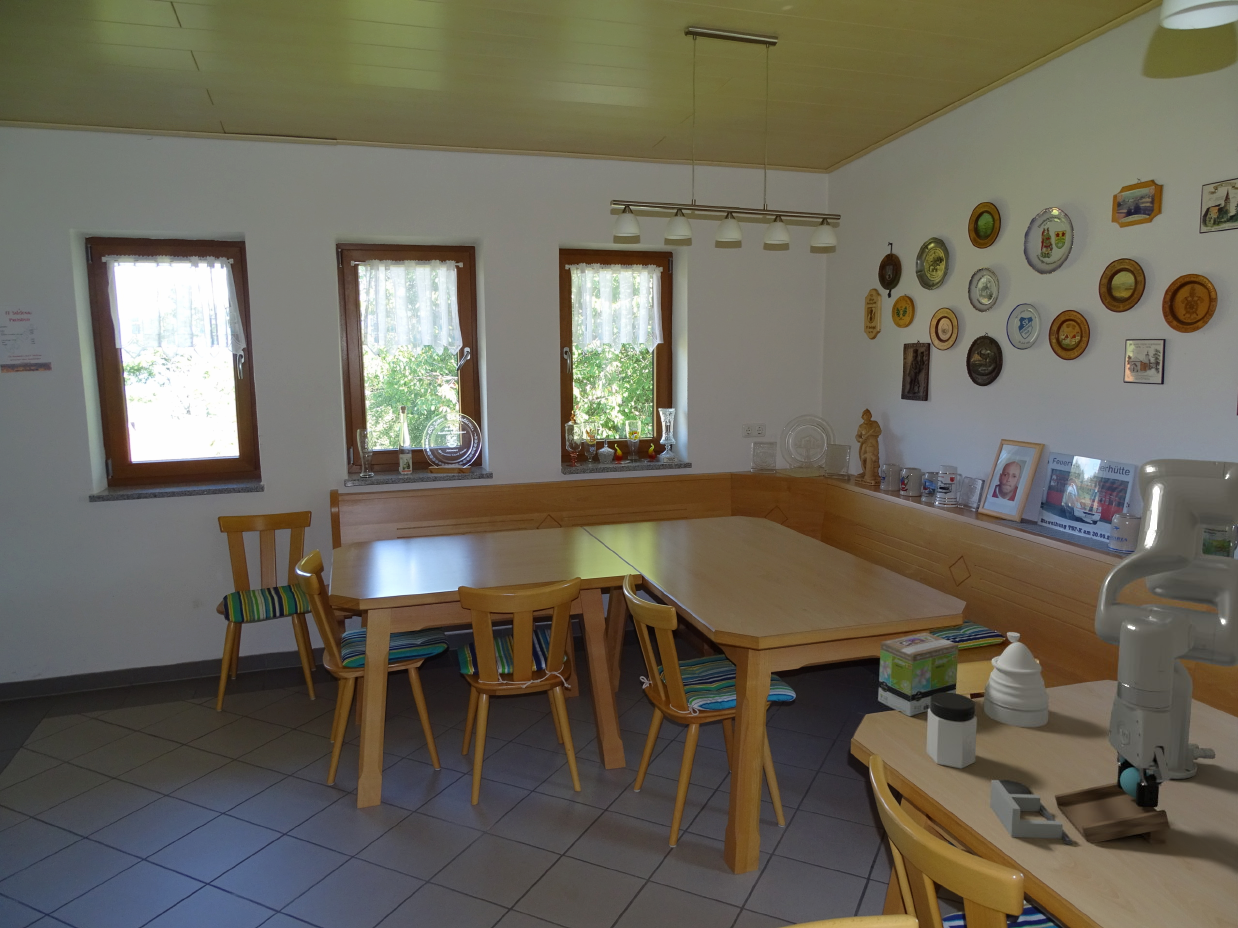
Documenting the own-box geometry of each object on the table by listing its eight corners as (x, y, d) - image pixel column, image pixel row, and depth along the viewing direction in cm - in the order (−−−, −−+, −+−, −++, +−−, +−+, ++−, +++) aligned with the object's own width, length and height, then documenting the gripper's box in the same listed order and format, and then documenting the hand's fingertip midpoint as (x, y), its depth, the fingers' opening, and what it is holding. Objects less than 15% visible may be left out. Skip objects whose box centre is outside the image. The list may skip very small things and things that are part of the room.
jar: (955, 772, 148) (958, 713, 147) (918, 755, 155) (920, 698, 153) (982, 759, 153) (985, 701, 152) (945, 743, 160) (947, 688, 158)
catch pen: (1037, 807, 136) (1038, 781, 135) (1061, 838, 127) (1063, 809, 126) (990, 806, 137) (991, 779, 136) (1011, 836, 128) (1012, 808, 127)
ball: (1113, 788, 132) (1115, 761, 132) (1143, 789, 132) (1145, 762, 131) (1129, 804, 127) (1131, 776, 127) (1161, 805, 127) (1163, 777, 126)
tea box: (911, 718, 172) (913, 654, 170) (877, 701, 181) (878, 640, 179) (957, 704, 179) (959, 642, 177) (922, 688, 187) (924, 630, 186)
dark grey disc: (1022, 782, 144) (1022, 780, 144) (1037, 801, 138) (1037, 798, 138) (987, 781, 145) (987, 779, 145) (1000, 799, 139) (1000, 797, 139)
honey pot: (972, 703, 179) (975, 628, 176) (1024, 700, 180) (1027, 626, 178) (1005, 729, 166) (1009, 648, 164) (1061, 725, 167) (1065, 645, 165)
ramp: (1133, 811, 135) (1135, 779, 134) (1168, 846, 125) (1170, 811, 124) (1053, 809, 136) (1055, 777, 135) (1082, 843, 126) (1084, 808, 125)
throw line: (1038, 803, 137) (1038, 799, 137) (1071, 844, 125) (1071, 839, 125) (1033, 803, 137) (1033, 799, 137) (1066, 843, 125) (1066, 839, 125)
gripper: (1093, 673, 136) (1087, 770, 138) (1150, 715, 119) (1142, 825, 122) (1137, 673, 135) (1131, 771, 138) (1201, 716, 119) (1193, 827, 121)
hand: (1136, 795), depth 130 cm, fingers closed on ball, 4 cm apart
